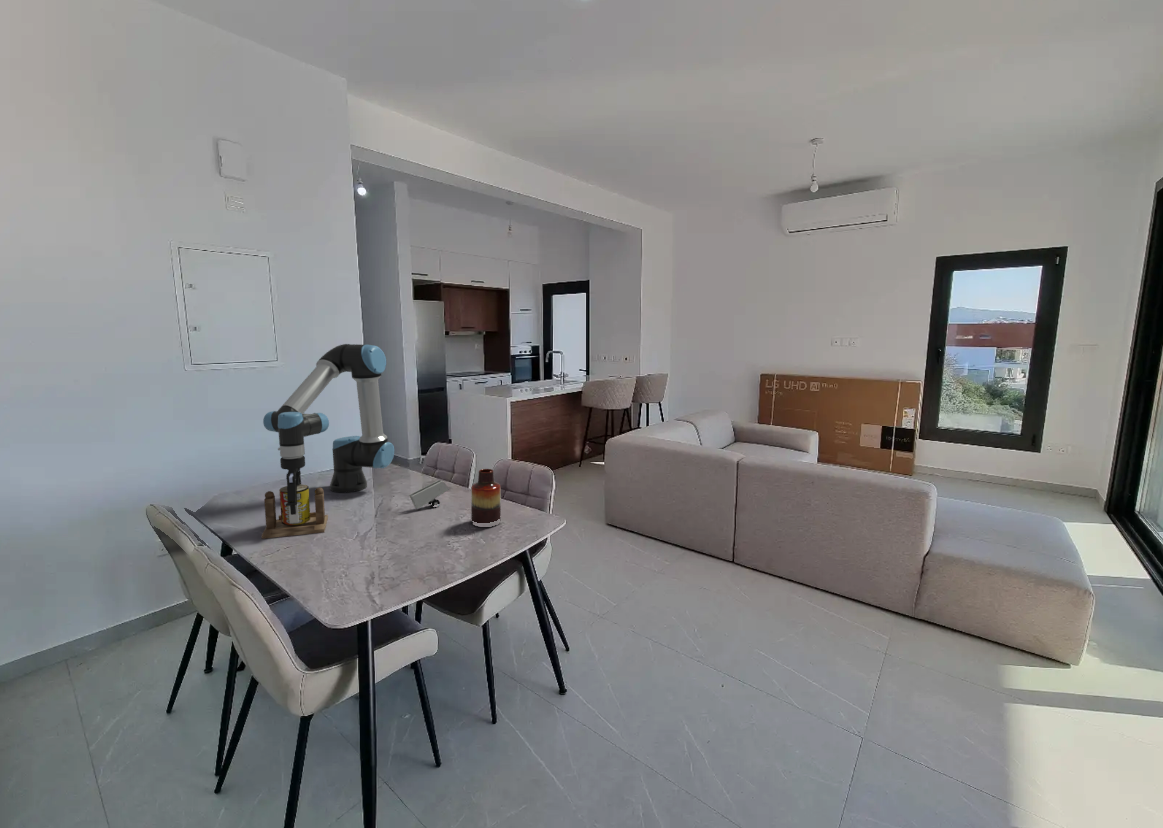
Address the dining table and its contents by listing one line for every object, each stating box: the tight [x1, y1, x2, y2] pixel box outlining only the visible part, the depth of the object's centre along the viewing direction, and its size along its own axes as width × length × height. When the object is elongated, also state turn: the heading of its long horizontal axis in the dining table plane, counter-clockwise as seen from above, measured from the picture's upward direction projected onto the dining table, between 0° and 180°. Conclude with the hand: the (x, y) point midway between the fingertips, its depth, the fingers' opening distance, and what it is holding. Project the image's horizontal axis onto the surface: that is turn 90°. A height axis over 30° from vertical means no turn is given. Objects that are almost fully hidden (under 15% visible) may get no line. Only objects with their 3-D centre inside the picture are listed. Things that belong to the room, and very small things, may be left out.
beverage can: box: [279, 483, 311, 525], centre depth 182 cm, size 9×9×12 cm
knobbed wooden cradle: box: [260, 487, 329, 540], centre depth 182 cm, size 19×15×14 cm
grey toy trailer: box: [408, 479, 450, 510], centre depth 208 cm, size 4×10×15 cm
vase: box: [470, 468, 502, 523], centre depth 192 cm, size 11×11×20 cm
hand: (296, 517), depth 183 cm, fingers closed on beverage can, 9 cm apart
